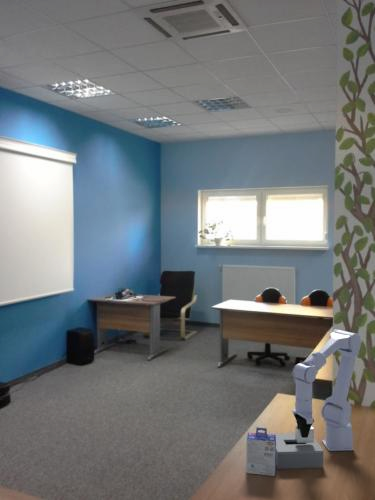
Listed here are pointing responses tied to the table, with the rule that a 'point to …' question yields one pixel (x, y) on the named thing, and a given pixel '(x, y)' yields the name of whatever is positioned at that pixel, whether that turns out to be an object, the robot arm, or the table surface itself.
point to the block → (304, 440)
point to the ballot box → (297, 453)
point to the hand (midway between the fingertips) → (303, 435)
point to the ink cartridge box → (261, 453)
